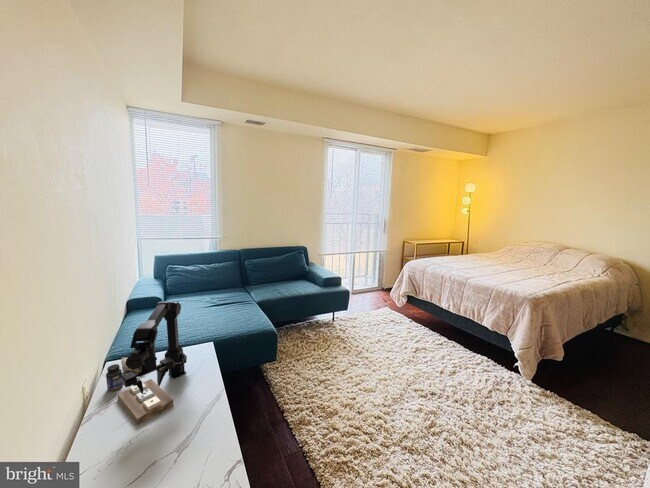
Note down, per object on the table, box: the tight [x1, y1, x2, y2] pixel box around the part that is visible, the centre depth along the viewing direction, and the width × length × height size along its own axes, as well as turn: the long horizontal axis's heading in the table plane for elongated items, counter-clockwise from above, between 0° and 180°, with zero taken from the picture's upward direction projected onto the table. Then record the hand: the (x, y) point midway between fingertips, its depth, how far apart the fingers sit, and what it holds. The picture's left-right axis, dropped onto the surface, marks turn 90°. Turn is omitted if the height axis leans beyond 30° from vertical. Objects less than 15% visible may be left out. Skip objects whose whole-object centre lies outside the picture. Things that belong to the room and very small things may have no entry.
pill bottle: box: [105, 363, 124, 392], centre depth 136 cm, size 6×6×11 cm
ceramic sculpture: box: [120, 357, 141, 374], centre depth 151 cm, size 11×9×15 cm
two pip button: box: [129, 381, 146, 395], centre depth 131 cm, size 5×5×3 cm
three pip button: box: [136, 389, 153, 403], centre depth 126 cm, size 5×5×3 cm
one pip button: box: [143, 396, 161, 411], centre depth 121 cm, size 5×5×3 cm
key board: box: [117, 378, 175, 426], centre depth 126 cm, size 14×24×3 cm, turn 52°
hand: (150, 389), depth 120 cm, fingers open, 6 cm apart
